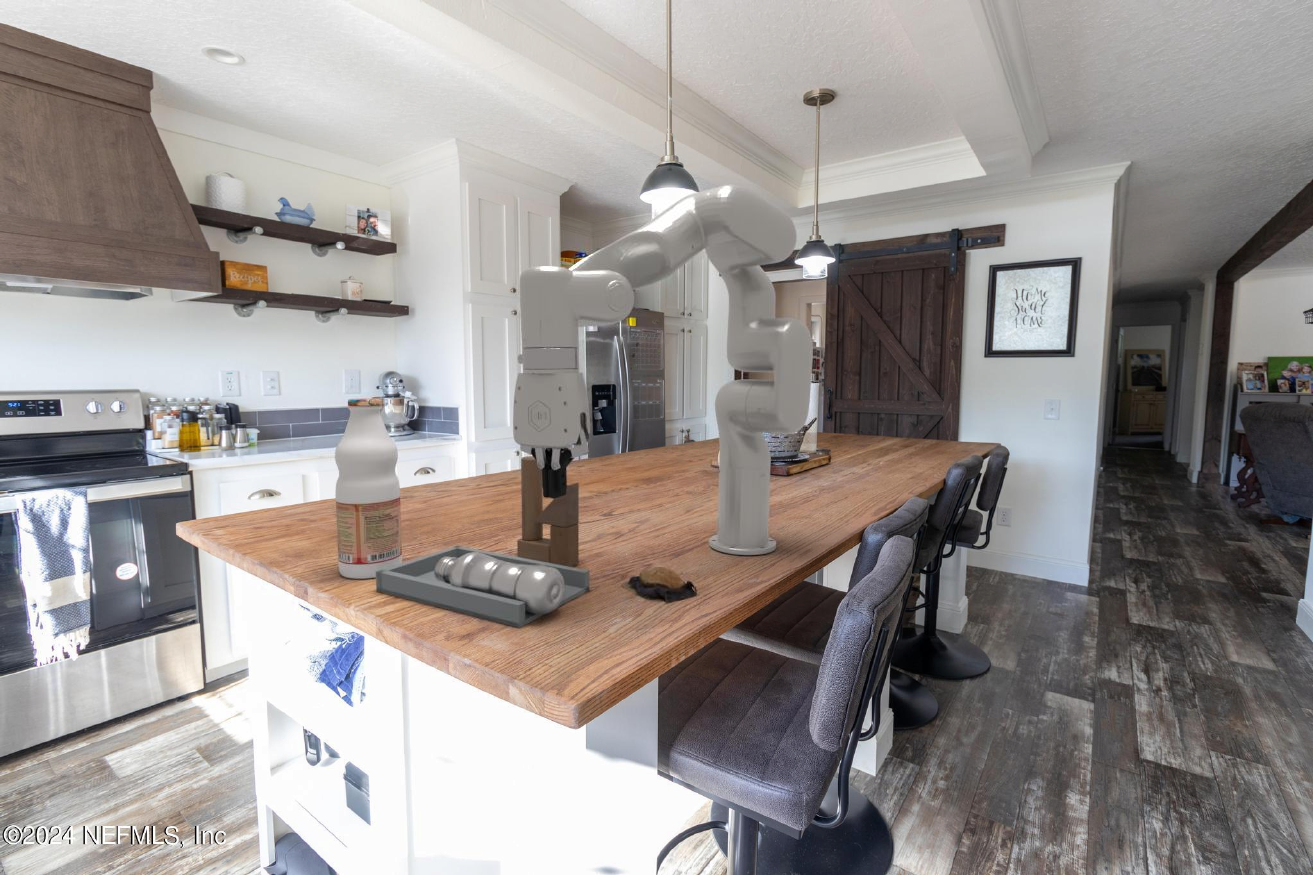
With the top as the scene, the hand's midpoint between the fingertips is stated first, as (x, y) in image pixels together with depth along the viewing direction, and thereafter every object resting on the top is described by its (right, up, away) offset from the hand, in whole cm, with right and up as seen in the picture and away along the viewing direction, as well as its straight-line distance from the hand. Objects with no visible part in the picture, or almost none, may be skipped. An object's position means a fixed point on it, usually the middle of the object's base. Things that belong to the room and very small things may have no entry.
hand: (554, 496), depth 84 cm
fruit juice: (-33, -14, +16) cm, 39 cm away
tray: (-12, -15, +7) cm, 20 cm away
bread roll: (+14, -16, +8) cm, 23 cm away
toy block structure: (-5, -14, +21) cm, 26 cm away
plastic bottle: (+1, -12, -4) cm, 13 cm away
